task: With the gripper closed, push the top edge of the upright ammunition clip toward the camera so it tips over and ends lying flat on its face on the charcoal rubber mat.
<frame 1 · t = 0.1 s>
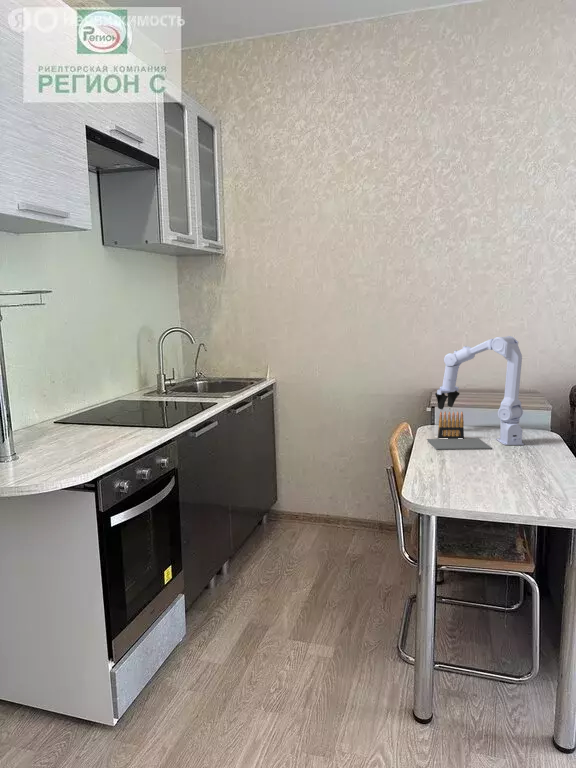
hand: (445, 407, 247), 11 cm above the table, tool pointing down, fingers open, 7 cm apart
ammunition clip: (450, 438, 232), on the table
mat: (458, 444, 221), on the table
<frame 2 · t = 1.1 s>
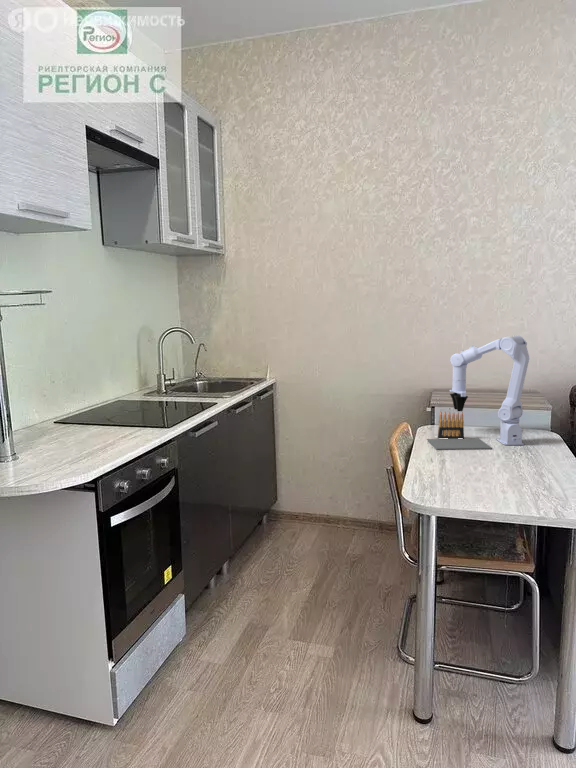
hand: (458, 410, 241), 10 cm above the table, tool pointing down, fingers open, 4 cm apart
nothing on the table moved.
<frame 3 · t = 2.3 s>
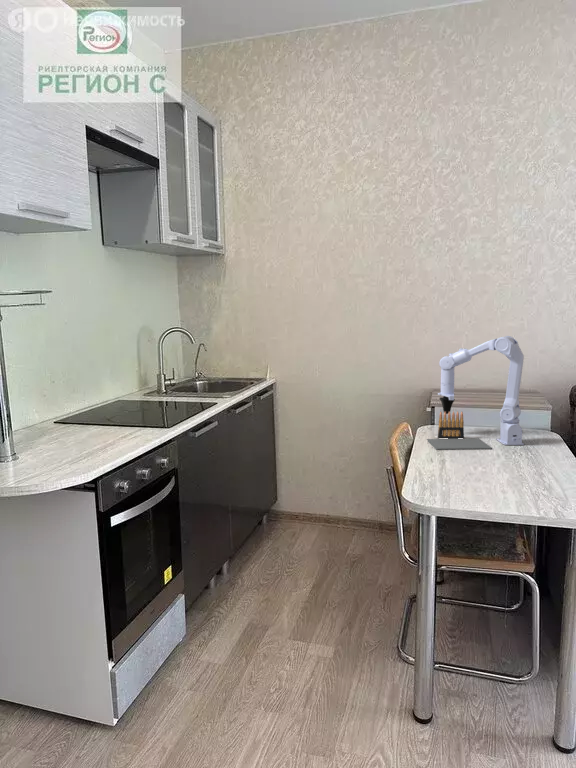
hand: (446, 413, 238), 10 cm above the table, tool pointing down, fingers closed
nothing on the table moved.
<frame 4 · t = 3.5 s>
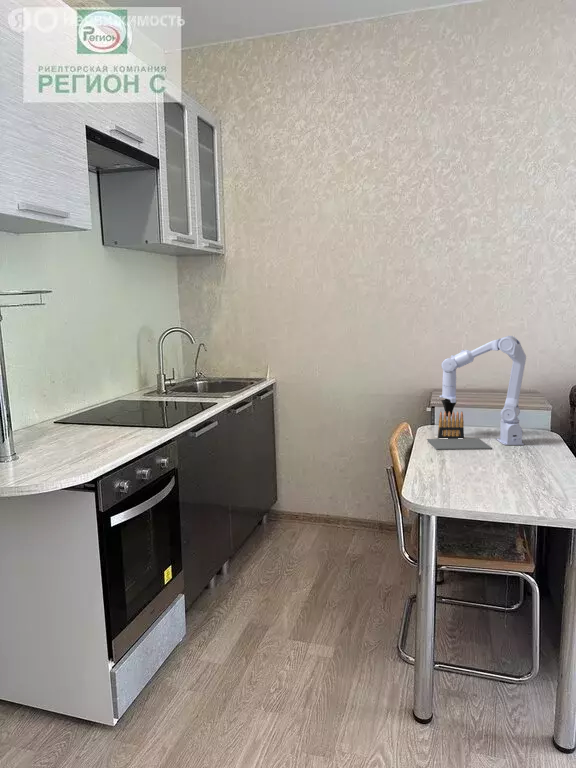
hand: (448, 416, 235), 9 cm above the table, tool pointing down, fingers closed
nothing on the table moved.
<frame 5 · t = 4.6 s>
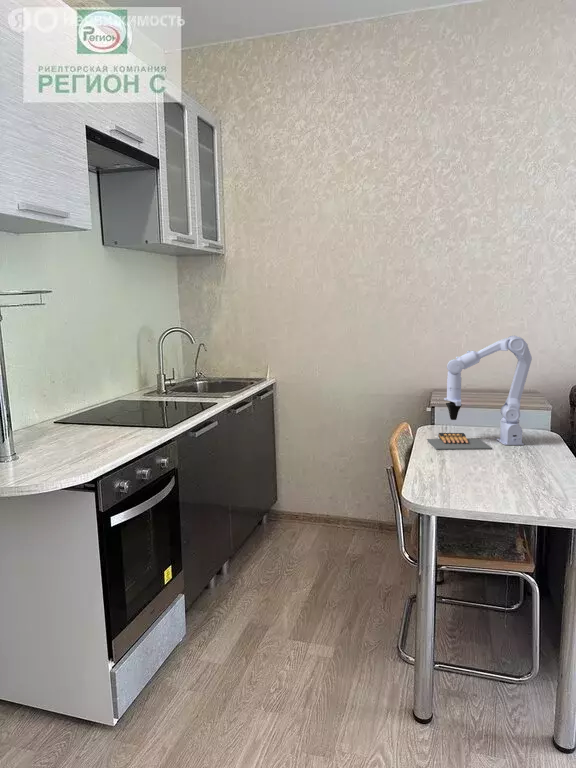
hand: (453, 419, 228), 9 cm above the table, tool pointing down, fingers closed
ammunition clip: (451, 434, 231), point 2 cm above the table, touching mat
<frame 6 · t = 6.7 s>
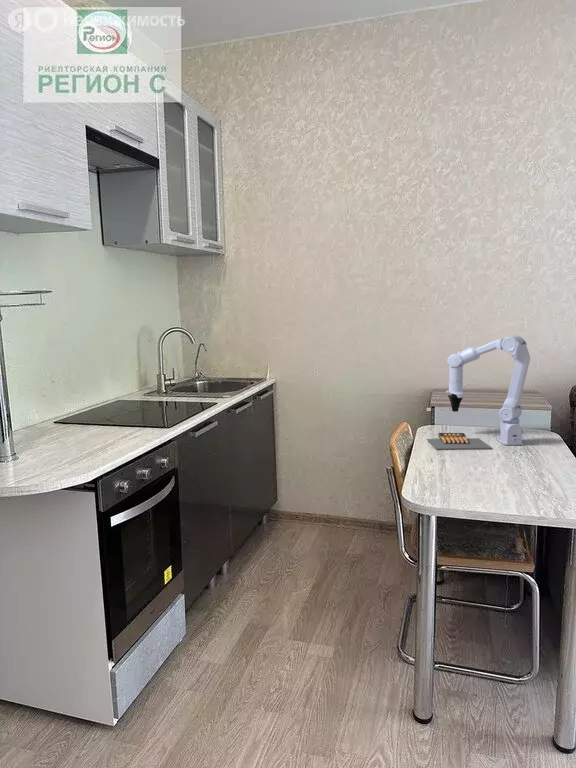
hand: (455, 411, 238), 10 cm above the table, tool pointing down, fingers closed
nothing on the table moved.
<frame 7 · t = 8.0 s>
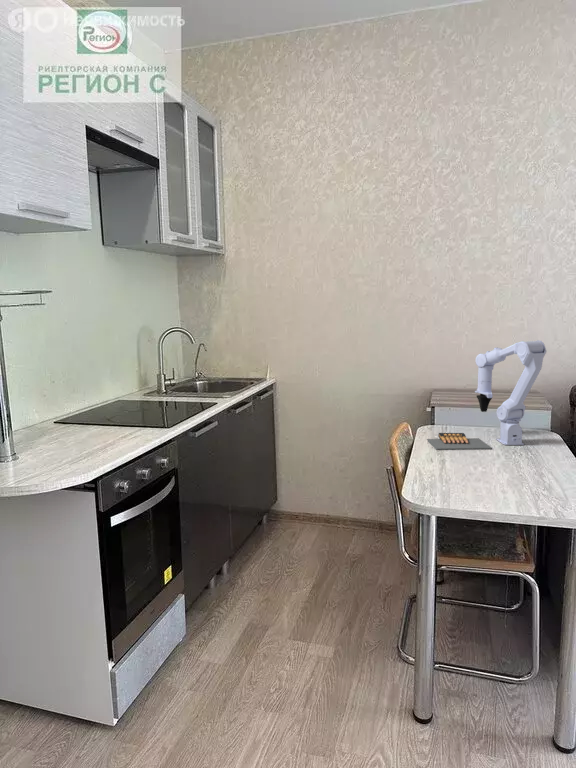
hand: (483, 411, 237), 10 cm above the table, tool pointing down, fingers closed
nothing on the table moved.
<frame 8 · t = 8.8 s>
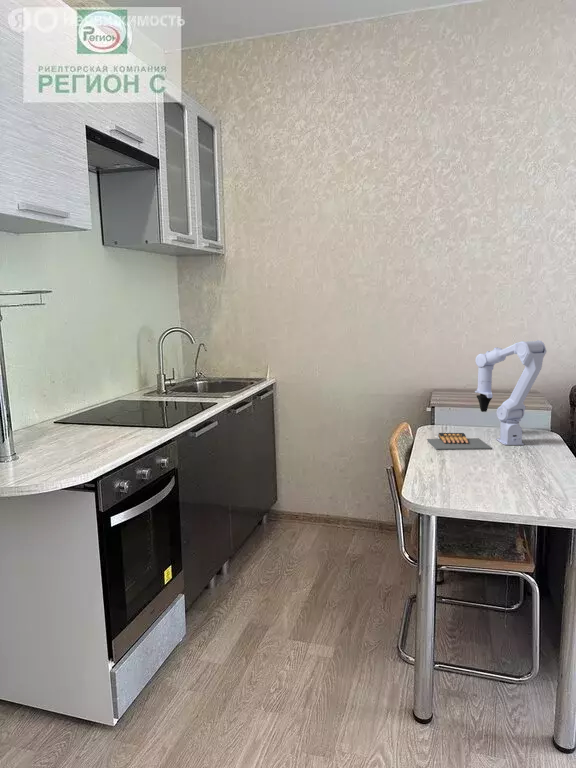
hand: (483, 411, 237), 10 cm above the table, tool pointing down, fingers closed
nothing on the table moved.
at the end: ammunition clip tilted 92°; ammunition clip touching mat; the gripper is holding nothing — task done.
